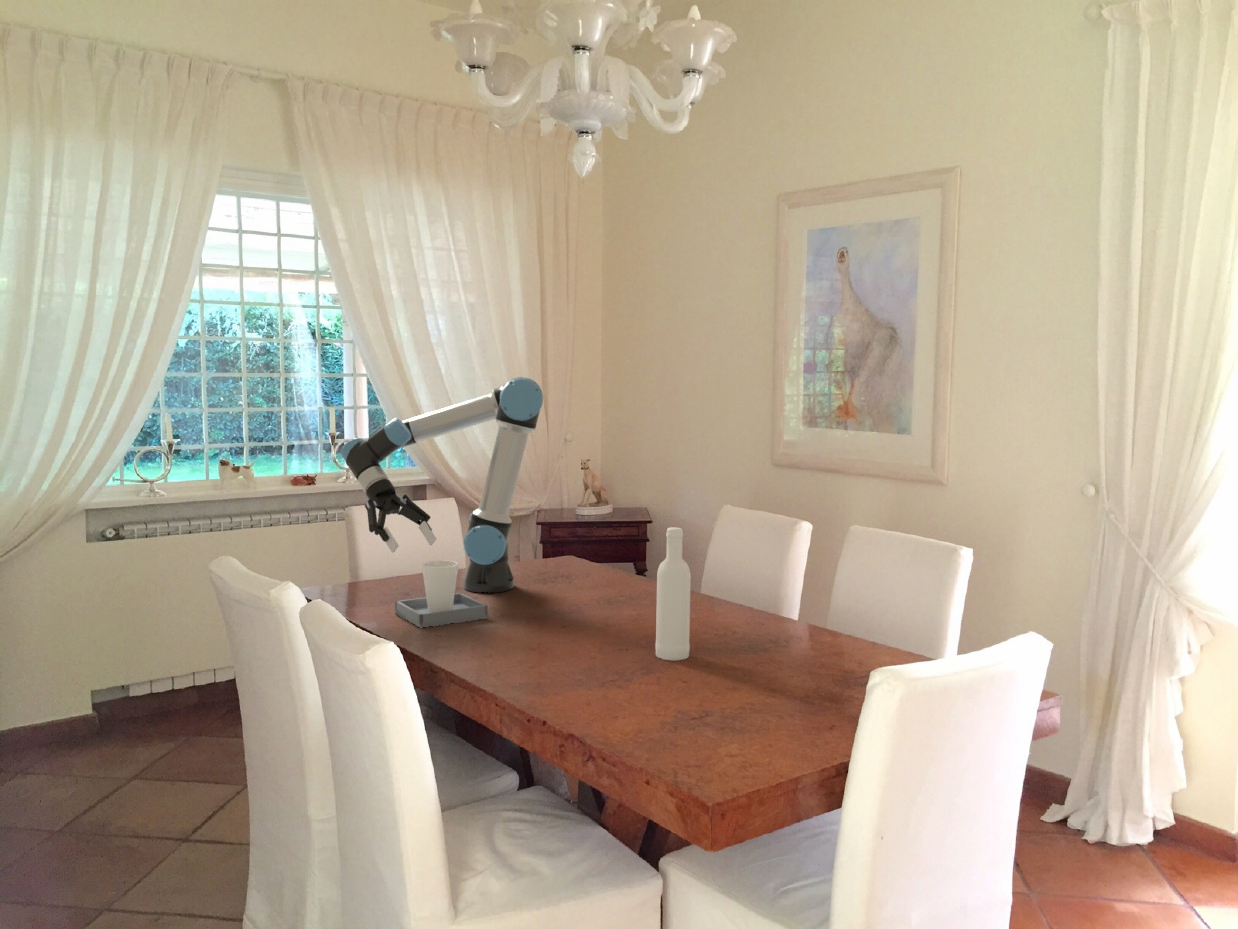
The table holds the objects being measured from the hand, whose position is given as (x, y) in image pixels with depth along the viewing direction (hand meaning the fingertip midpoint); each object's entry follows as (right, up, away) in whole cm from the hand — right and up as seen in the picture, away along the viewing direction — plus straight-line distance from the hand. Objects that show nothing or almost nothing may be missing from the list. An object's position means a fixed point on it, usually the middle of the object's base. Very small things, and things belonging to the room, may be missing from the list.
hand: (414, 545), depth 260 cm
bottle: (+68, -23, -37) cm, 81 cm away
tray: (+8, -18, -4) cm, 20 cm away
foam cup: (+8, -17, -4) cm, 20 cm away
